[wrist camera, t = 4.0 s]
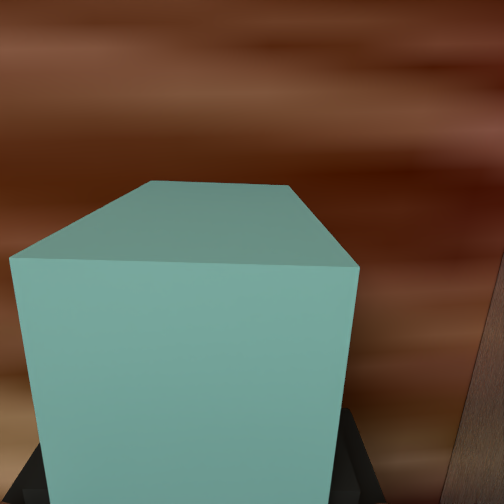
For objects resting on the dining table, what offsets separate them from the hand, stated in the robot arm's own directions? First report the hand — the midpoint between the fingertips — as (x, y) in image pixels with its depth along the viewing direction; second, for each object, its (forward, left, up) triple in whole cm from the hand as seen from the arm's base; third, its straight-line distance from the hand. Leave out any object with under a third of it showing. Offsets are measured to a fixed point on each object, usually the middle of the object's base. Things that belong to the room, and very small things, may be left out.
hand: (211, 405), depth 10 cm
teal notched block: (0, 0, -3) cm, 3 cm away
